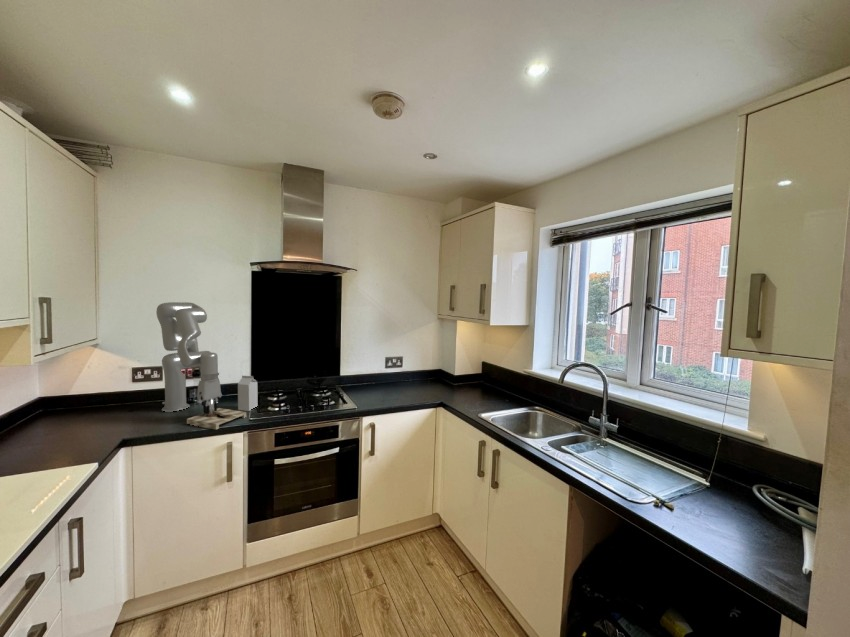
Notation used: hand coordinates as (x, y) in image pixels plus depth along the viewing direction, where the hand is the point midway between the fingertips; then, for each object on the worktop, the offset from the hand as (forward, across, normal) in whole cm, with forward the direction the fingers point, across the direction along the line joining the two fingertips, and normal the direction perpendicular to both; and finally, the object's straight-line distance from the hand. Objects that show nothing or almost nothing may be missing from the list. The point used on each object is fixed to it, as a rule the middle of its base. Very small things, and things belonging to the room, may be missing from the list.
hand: (210, 411), depth 175 cm
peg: (+4, 0, 0) cm, 4 cm away
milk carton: (+4, -20, +4) cm, 21 cm away
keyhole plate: (+4, 0, +5) cm, 6 cm away
